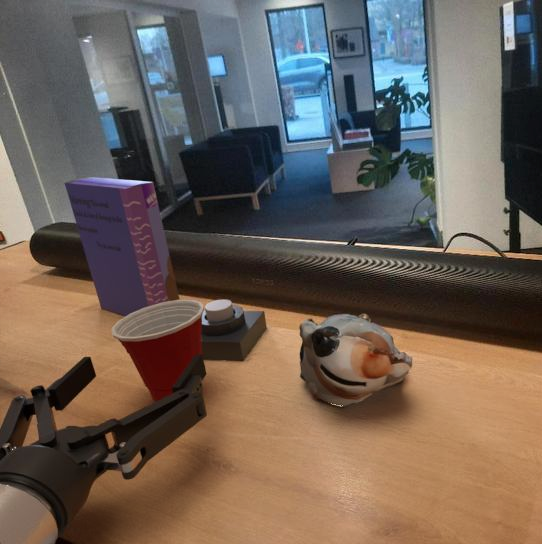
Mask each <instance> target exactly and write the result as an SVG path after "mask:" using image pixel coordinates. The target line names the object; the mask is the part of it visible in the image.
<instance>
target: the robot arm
mask: <svg viewBox="0 0 542 544" xmlns="http://www.w3.org/2000/svg"><path fill="white" fill-rule="evenodd" d="M206 376H207V370H206V365H205V360H203V355H202V354H196V355H195V356H194V358H193V359H192V360H191V362H190V363H189V365H188V366H187V367H186V369H185V370H184V372H183V373H182V374H181V376H180V377H179V379H178V380H177V381H176V383H175V384H174V385H173V387H172V389H173V393H172V394H170V395H168V396H166V397H164V398H162V399H160V400H158V401H156V402H154V401H153V403H150V404H149V405H146V406H144V407H142V408H139V409H138V410H136V411H134V412H132V413H130V414H129V415H126V416H124V417H121V418H120V419H117V418H110V419H108V420H106V421H104V422H102V423H100V424H97V425H86V426H77V425H67V426H65V427H64V428H60V429H58V428H57V424H56V420H55V416H54V411H53V408H54V410H55V411H56V412H57V411H60V412H62V411H64V410H65V409H66V408H67V406H69V405H70V403H72V401H73V400H74V399H75V398H77V396H78V395H80V393H82V391H84V389H86V387H88V385H90V383H91V382H93V380H94V379H95V378H96V377H97V373H96V370H95V368H94V364H93V360H92V357H91V356H83V357H82V358H81V359H80V360H79V361H78V362H77V363H75V364H74V366H72V367H71V368H70V369H69V370H68V371H67V372H66V373H64V374H63V375H62V376H61V377H59V378H57V379H56V380H55V381H54V382H53V383H51V384H50V385H49V386H48V387H47V388H46V389H45V387H44V385H42V384H41V385H36V386H33V387H32V388H31V389H30V391H29V392H30V394H31V397H27V396H26V395H23V394H21V395H17V396H15V397H14V398H13V399H12V400H11V402H10V404H9V407H8V409H7V411H6V413H5V416H4V419H3V421H2V424H1V426H0V544H56V541H57V540H58V538H59V537H61V536H63V534H64V532H66V530H67V529H68V527H69V526H70V525H71V523H73V520H74V519H75V518H76V516H77V515H78V514H79V512H80V511H81V510H82V508H83V507H84V506H85V504H86V502H87V500H88V497H89V495H90V492H91V489H92V486H93V484H94V483H95V481H96V480H97V479H99V478H100V477H101V476H103V475H104V474H105V473H106V472H107V471H113V472H121V475H122V478H123V479H124V480H127V481H128V480H131V479H134V478H136V477H137V476H138V474H139V473H140V472H141V470H142V469H143V468H144V467H145V465H146V464H147V463H148V462H149V461H151V459H152V458H154V457H156V456H157V455H158V454H159V453H161V452H162V451H163V450H164V449H166V448H167V447H169V446H170V445H171V444H172V443H174V442H175V441H176V440H177V439H179V438H180V437H181V436H182V435H184V434H185V433H186V432H188V431H189V430H191V429H192V428H193V427H195V425H196V424H198V423H200V422H201V421H202V420H203V419H205V418H206V417H207V416H208V413H207V409H206V408H207V407H206V404H205V399H204V395H203V392H201V391H203V388H204V386H203V380H204V379H205V378H206ZM34 416H35V418H36V423H37V424H36V429H37V435H38V440H36V441H34V442H32V443H30V444H27V445H24V443H25V440H26V438H27V434H28V431H29V428H30V425H31V423H32V420H33V417H34ZM109 433H111V436H112V439H113V446H112V447H110V446H109V441H108V438H107V435H108V434H109Z"/></svg>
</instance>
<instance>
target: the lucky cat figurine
mask: <svg viewBox="0 0 542 544" xmlns="http://www.w3.org/2000/svg"><path fill="white" fill-rule="evenodd" d="M298 329H299V337H300V338H301V341H302V342H301V345H300V350H299V368H300V374H299V378H300V379H302V380H303V381H304V383H305V384H306V386H307V388H308V390H309V392H310V395H311V394H312V395H311V396H312V398H315V399H318V398H319V399H318V400H320V399H321V400H320V401H322V400H324V401H323V402H325V401H327V402H329V403H332V404H336V405H341V406H342V405H343V406H344V407H346V406H348V405H351V404H359V403H360V402H362V401H364V400H366V399H367V398H368V397H370V396H372V395H373V394H375V393H377V392H379V391H381V390H383V389H385V388H388V387H391V386H394V385H396V384H398V383H400V382H402V381H404V379H403V378H405V377H406V376H407V375H408V374H409V372H410V370H411V369H412V367H413V356H409V355H408V354H407V353H406V352H404V351H400V349H398V348H397V347H396V346H395V341H394V337H393V335H392V334H391V333H390V332H389V331H388V330H386V329H385V328H384V327H383V326H381V325H380V324H377V323H375V322H372V319H371V317H370V316H369V314H367V313H364V312H362V313H361V314H359V315H358V316H357V315H351V314H349V313H341V314H339V313H338V314H334V315H330V316H327V317H326V318H325V319H324V320H323V321H322V322H320V323H317V322H315V321H314V320H313V318H311V317H310V318H306V319H305V320H304V321H302V322H301V323H300V324H299V328H298ZM395 383H396V384H395ZM393 384H394V385H393ZM390 385H391V386H390ZM387 386H388V387H387ZM327 402H326V403H327ZM329 403H328V404H329ZM345 405H346V406H345Z"/></svg>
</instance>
